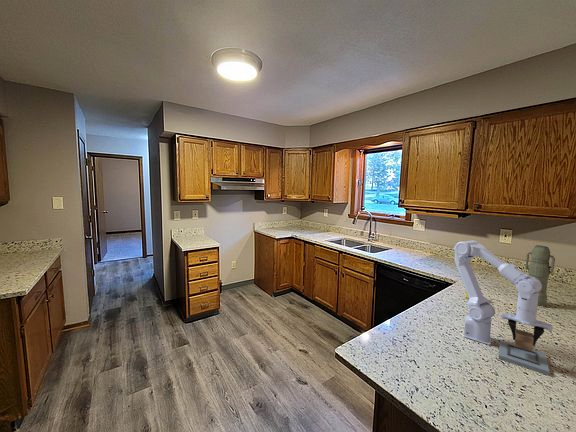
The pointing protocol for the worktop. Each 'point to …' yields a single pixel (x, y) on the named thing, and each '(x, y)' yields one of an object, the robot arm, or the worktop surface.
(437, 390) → the worktop surface
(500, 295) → the worktop surface
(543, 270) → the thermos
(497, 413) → the worktop surface
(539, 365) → the slate base plate
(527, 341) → the walnut block
